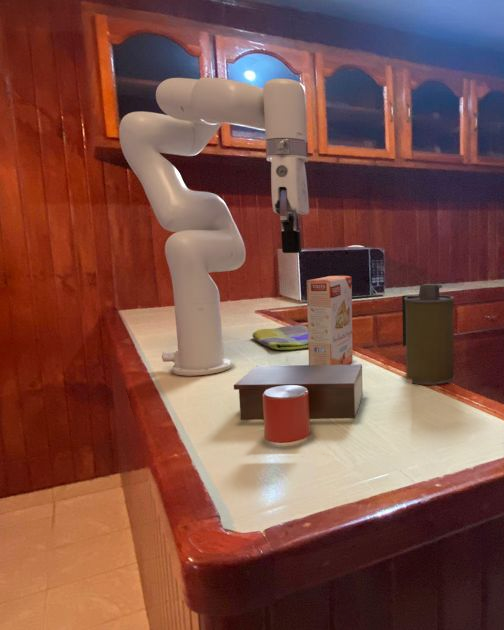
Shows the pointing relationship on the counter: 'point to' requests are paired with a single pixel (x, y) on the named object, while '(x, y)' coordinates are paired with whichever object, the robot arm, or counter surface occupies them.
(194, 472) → the counter surface
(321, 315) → the cracker box
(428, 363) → the canister
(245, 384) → the lid
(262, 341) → the dish towel
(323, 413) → the chest
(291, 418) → the tin can
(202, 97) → the robot arm
